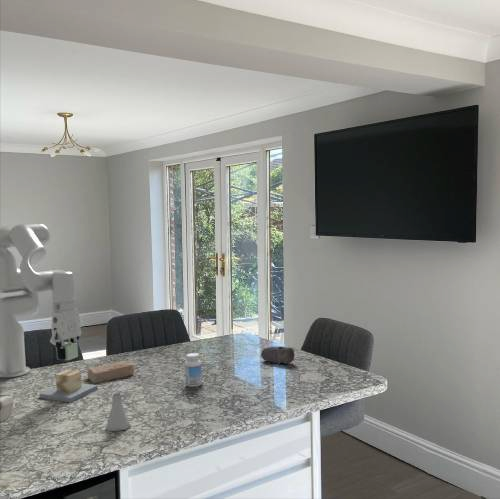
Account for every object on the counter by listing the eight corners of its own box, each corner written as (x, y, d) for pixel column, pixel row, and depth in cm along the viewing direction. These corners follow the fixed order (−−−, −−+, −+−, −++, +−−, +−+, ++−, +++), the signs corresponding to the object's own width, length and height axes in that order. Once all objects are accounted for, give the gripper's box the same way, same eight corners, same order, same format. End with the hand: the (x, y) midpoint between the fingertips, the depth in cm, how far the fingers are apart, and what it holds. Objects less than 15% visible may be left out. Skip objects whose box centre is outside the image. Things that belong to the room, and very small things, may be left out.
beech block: (56, 390, 190) (55, 374, 190) (68, 385, 196) (67, 369, 195) (69, 392, 188) (69, 375, 187) (81, 387, 193) (80, 371, 193)
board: (39, 397, 188) (39, 393, 188) (67, 385, 201) (67, 381, 201) (70, 402, 182) (70, 398, 182) (97, 389, 195) (97, 385, 195)
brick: (93, 384, 203) (93, 371, 202) (86, 378, 210) (86, 366, 209) (135, 375, 212) (134, 363, 212) (127, 370, 219) (126, 359, 219)
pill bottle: (205, 383, 199) (204, 353, 198) (196, 388, 193) (195, 357, 193) (191, 381, 201) (190, 351, 201) (182, 386, 196) (181, 356, 195)
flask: (108, 423, 163) (106, 391, 162) (132, 421, 164) (130, 389, 163) (103, 432, 156) (102, 399, 155) (128, 431, 156) (127, 397, 156)
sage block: (57, 359, 189) (56, 345, 189) (67, 355, 194) (66, 342, 193) (68, 360, 187) (67, 346, 187) (78, 356, 192) (77, 342, 191)
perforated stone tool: (258, 362, 225) (257, 345, 224) (264, 359, 229) (264, 343, 228) (289, 366, 216) (289, 350, 216) (295, 363, 221) (295, 347, 220)
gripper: (55, 311, 180) (58, 364, 181) (89, 302, 196) (92, 352, 197) (38, 310, 183) (41, 362, 184) (73, 302, 199) (75, 350, 200)
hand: (67, 356), depth 190 cm, fingers closed on sage block, 5 cm apart
